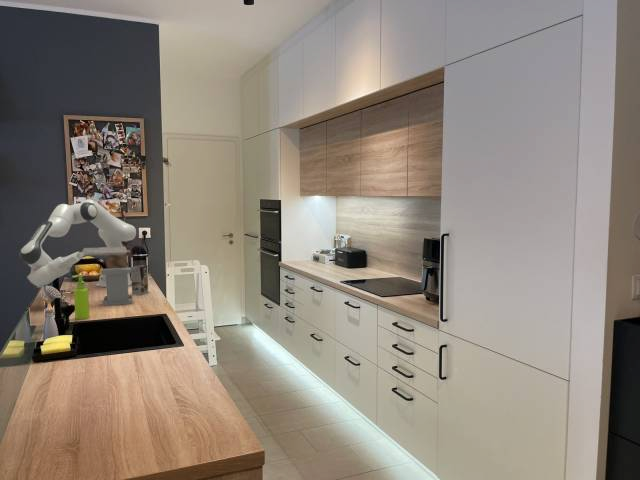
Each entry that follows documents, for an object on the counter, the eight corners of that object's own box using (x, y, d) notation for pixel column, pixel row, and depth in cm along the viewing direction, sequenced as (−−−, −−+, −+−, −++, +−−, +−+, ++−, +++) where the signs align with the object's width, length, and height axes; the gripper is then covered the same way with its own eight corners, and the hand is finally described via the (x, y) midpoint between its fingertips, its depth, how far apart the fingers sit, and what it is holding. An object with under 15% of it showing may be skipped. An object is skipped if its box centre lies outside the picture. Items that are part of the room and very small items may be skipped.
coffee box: (143, 295, 282) (142, 266, 281) (131, 295, 283) (130, 266, 281) (148, 292, 291) (147, 264, 290) (137, 292, 292) (136, 264, 290)
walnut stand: (104, 301, 265) (101, 253, 263) (104, 298, 272) (102, 251, 270) (132, 299, 270) (130, 251, 268) (132, 297, 277) (130, 250, 275)
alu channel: (83, 255, 252) (83, 248, 251) (84, 255, 255) (83, 248, 255) (126, 254, 258) (125, 247, 258) (126, 253, 262) (125, 246, 262)
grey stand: (102, 306, 255) (101, 271, 253) (103, 302, 262) (102, 268, 261) (132, 303, 260) (130, 269, 258) (132, 300, 267) (130, 267, 265)
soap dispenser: (70, 318, 228) (68, 275, 226) (83, 315, 234) (81, 273, 232) (78, 320, 225) (76, 276, 224) (92, 317, 231) (90, 274, 230)
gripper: (54, 262, 240) (81, 247, 243) (60, 258, 259) (85, 244, 262) (62, 273, 241) (89, 258, 245) (68, 268, 260) (92, 254, 264)
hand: (87, 251), depth 254 cm, fingers closed on alu channel, 4 cm apart
